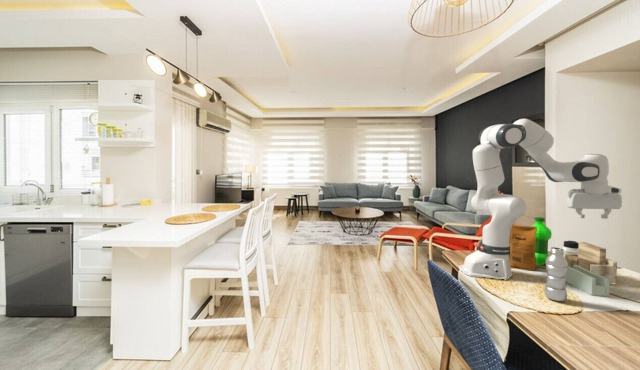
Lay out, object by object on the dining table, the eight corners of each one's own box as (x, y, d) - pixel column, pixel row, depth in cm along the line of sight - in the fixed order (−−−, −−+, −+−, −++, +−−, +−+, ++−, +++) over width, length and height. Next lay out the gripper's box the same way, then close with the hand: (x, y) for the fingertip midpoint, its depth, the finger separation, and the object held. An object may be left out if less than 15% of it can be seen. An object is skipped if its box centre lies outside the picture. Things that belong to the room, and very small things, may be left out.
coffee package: (507, 261, 147) (509, 222, 146) (536, 266, 139) (538, 225, 138) (505, 266, 140) (506, 224, 139) (535, 272, 131) (537, 228, 130)
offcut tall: (588, 280, 121) (589, 263, 121) (577, 275, 127) (578, 259, 127) (596, 281, 121) (597, 263, 120) (585, 276, 127) (586, 259, 126)
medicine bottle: (583, 265, 142) (584, 242, 141) (569, 265, 142) (570, 242, 141) (570, 260, 149) (571, 239, 148) (557, 260, 149) (558, 239, 148)
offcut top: (576, 264, 128) (577, 258, 128) (568, 261, 133) (568, 255, 133) (583, 264, 128) (583, 258, 128) (574, 261, 133) (575, 255, 133)
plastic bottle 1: (530, 259, 151) (532, 215, 150) (553, 264, 142) (555, 218, 141) (522, 262, 146) (524, 217, 145) (546, 268, 137) (548, 219, 136)
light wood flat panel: (598, 281, 121) (600, 248, 120) (577, 271, 133) (578, 241, 132) (604, 281, 120) (606, 248, 120) (582, 271, 132) (584, 242, 131)
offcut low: (575, 274, 128) (576, 264, 128) (567, 270, 134) (568, 260, 133) (583, 275, 128) (583, 264, 128) (574, 271, 133) (575, 261, 133)
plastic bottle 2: (562, 305, 99) (564, 252, 98) (540, 297, 105) (542, 247, 104) (570, 301, 102) (572, 249, 101) (548, 294, 108) (550, 245, 107)
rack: (589, 283, 119) (591, 260, 118) (560, 268, 136) (561, 249, 136) (615, 284, 117) (617, 262, 117) (582, 269, 135) (583, 250, 134)
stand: (591, 295, 107) (592, 278, 106) (560, 278, 124) (561, 264, 123) (608, 296, 106) (609, 279, 106) (575, 279, 123) (576, 264, 122)
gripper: (574, 189, 123) (572, 219, 124) (625, 189, 120) (624, 219, 121) (563, 188, 129) (562, 216, 130) (612, 188, 126) (611, 217, 127)
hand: (592, 218), depth 125 cm, fingers open, 8 cm apart
